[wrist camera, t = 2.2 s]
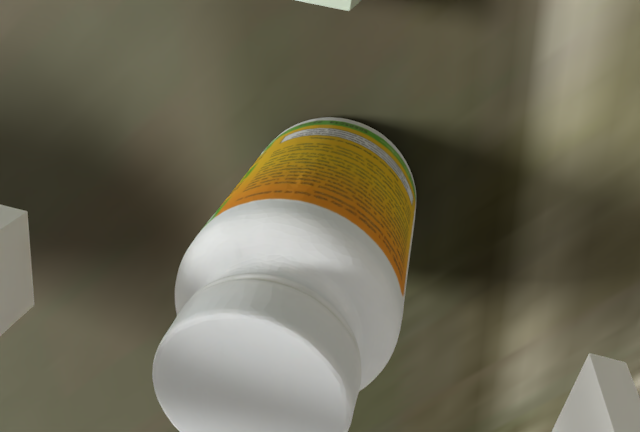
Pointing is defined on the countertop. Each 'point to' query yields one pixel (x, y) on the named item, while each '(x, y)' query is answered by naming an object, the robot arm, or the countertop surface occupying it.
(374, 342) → the supplement bottle
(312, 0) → the tray
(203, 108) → the countertop surface
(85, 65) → the countertop surface
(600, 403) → the robot arm
